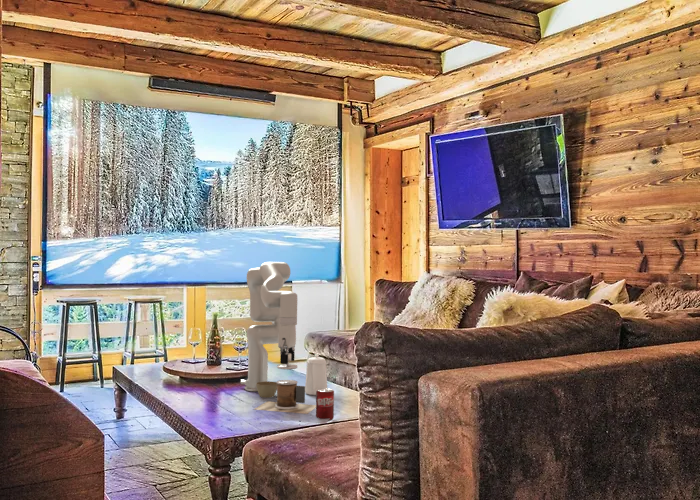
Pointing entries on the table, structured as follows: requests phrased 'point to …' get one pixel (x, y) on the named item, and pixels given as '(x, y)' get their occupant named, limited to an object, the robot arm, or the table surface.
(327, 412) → the soda can
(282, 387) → the mug
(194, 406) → the table surface
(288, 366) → the silver knobbed lid
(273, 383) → the flower pot
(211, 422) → the table surface
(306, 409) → the serving board
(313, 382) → the coffeepot
